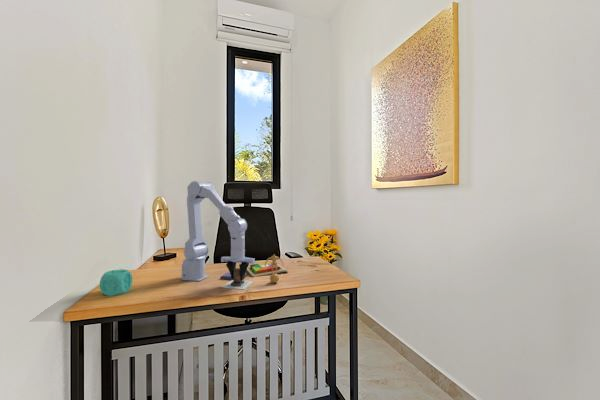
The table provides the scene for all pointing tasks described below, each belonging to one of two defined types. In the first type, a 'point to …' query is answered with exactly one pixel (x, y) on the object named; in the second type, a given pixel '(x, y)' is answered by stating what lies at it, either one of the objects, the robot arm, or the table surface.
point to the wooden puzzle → (264, 269)
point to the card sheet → (228, 285)
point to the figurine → (275, 277)
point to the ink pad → (228, 276)
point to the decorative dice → (116, 282)
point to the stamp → (237, 278)
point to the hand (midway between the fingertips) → (237, 279)
